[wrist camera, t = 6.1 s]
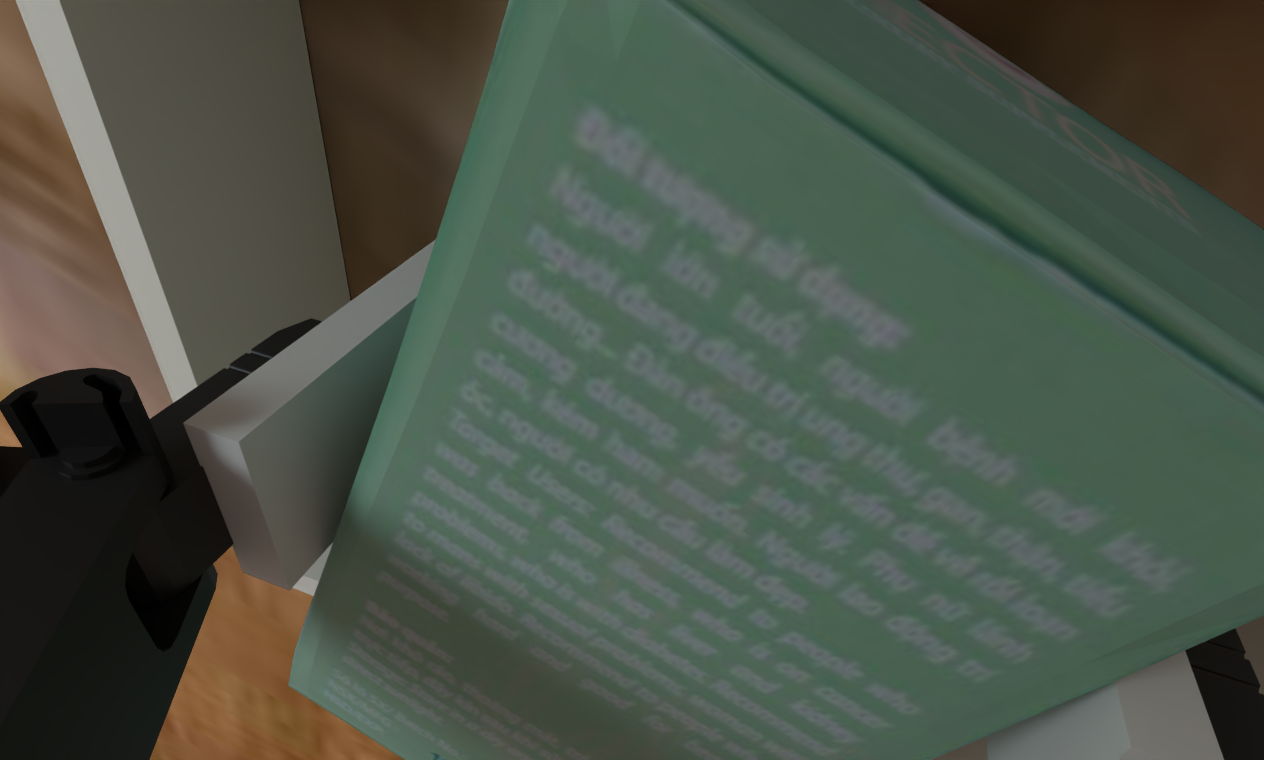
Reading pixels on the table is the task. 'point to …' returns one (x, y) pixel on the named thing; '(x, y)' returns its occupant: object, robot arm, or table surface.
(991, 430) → the box
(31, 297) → the table surface
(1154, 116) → the table surface
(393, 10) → the table surface
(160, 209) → the white square tray
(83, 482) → the robot arm
